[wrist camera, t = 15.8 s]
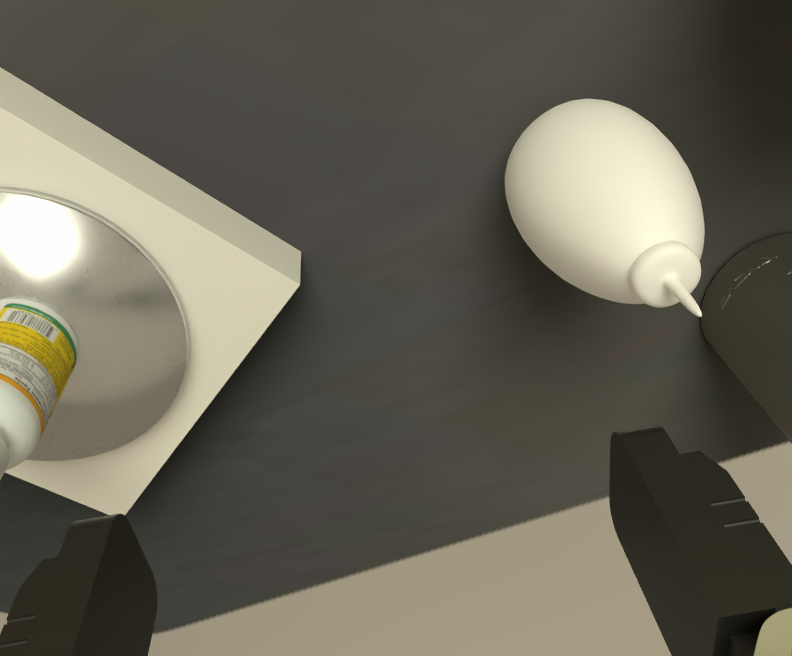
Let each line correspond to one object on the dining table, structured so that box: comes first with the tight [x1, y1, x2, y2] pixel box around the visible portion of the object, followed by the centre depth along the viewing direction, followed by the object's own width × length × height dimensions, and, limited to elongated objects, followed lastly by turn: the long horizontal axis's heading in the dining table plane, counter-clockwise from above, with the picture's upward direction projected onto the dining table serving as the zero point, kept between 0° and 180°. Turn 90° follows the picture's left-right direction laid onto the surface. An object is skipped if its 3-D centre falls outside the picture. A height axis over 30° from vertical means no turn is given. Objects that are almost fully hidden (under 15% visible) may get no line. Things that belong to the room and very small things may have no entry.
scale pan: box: [0, 186, 189, 461], centre depth 39 cm, size 16×16×1 cm
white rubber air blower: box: [505, 99, 705, 317], centre depth 33 cm, size 8×8×18 cm
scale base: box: [0, 67, 301, 515], centre depth 41 cm, size 20×21×4 cm
